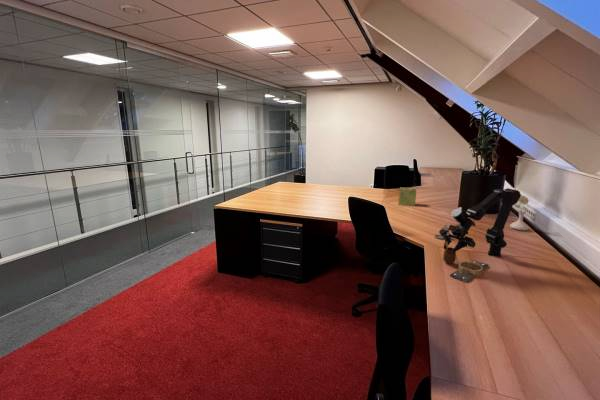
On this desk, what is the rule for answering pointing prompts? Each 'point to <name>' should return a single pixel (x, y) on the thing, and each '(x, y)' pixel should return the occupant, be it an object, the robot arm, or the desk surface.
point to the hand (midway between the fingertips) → (448, 250)
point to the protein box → (407, 196)
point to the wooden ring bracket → (468, 274)
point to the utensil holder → (449, 254)
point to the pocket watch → (440, 235)
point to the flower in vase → (521, 215)
